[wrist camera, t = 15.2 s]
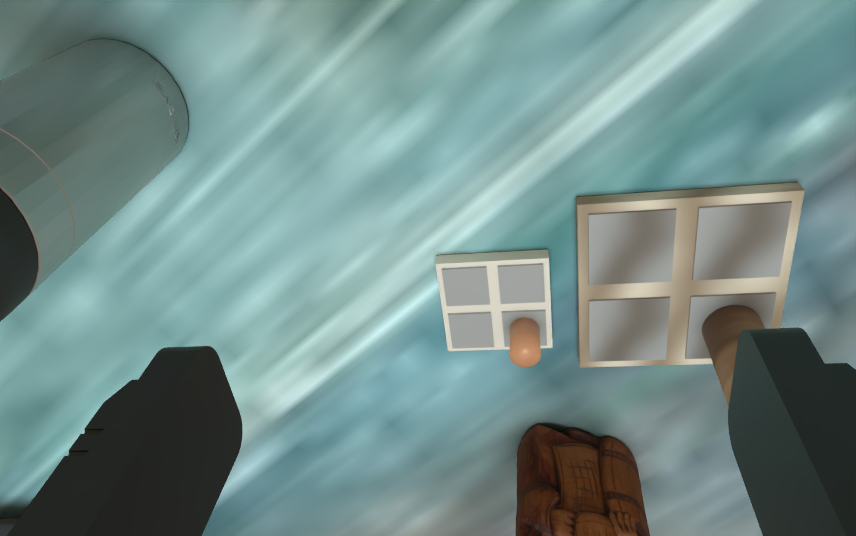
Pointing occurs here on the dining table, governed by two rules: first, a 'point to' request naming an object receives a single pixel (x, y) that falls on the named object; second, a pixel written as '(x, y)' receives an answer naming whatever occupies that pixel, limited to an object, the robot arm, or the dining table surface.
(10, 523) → the bluetooth speaker
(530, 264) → the key plate
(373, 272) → the dining table surface
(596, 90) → the dining table surface
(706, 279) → the board
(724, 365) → the walnut pin
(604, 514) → the wooden figurine
